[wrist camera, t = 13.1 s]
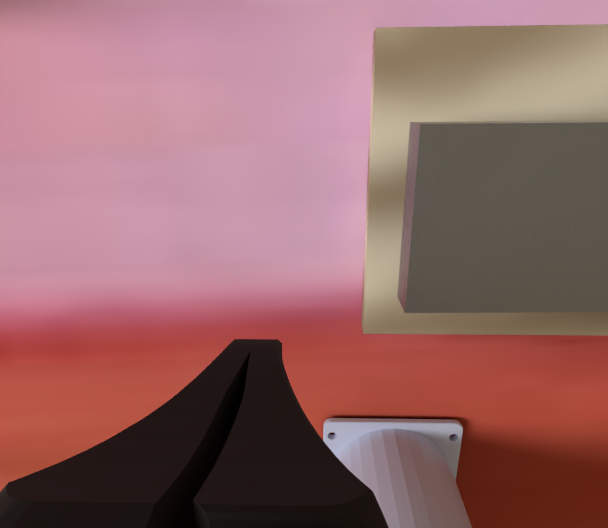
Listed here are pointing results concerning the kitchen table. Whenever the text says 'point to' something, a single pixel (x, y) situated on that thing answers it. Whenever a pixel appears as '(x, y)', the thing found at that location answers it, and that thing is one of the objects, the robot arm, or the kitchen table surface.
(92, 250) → the kitchen table surface
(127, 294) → the kitchen table surface
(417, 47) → the beam stand
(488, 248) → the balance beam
